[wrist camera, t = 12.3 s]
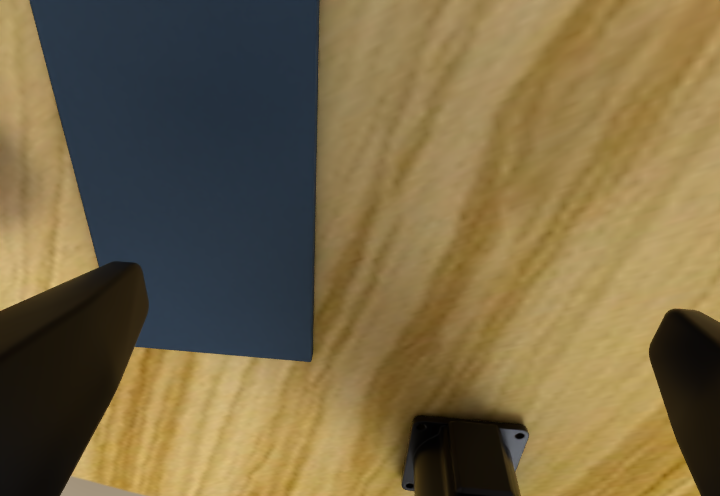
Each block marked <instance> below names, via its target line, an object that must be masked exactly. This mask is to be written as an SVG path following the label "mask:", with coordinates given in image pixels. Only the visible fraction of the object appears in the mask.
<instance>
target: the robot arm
mask: <svg viewBox="0 0 720 496" xmlns="http://www.w3.org/2000/svg"><path fill="white" fill-rule="evenodd" d="M148 309H149V300H148V295H147V290H146V285H145V280H144V276H143V271H142V268H141V267H140V265H139V264H137V263H134V262H123V261H113V262H110V263H108V264H106V265H103V266H101V267H99V268H97V269H94V270H92V271H90V272H88V273H85V274H83V275H81V276H79V277H76V278H74V279H72V280H69V281H67V282H65V283H63V284H60V285H58V286H56V287H54V288H51V289H49V290H47V291H45V292H42V293H40V294H38V295H36V296H33V297H31V298H29V299H27V300H24V301H22V302H20V303H18V304H15V305H13V306H11V307H9V308H6V309H4V310H2V311H0V496H60V495H61V493H62V491H63V489H64V487H65V486H66V484H67V482H68V480H69V478H70V476H71V474H72V473H73V471H74V469H75V467H76V465H77V463H78V461H79V460H80V458H81V456H82V454H83V452H84V450H85V449H86V447H87V445H88V443H89V441H90V439H91V437H92V436H93V434H94V432H95V430H96V428H97V426H98V424H99V423H100V421H101V419H102V417H103V415H104V413H105V412H106V410H107V408H108V406H109V404H110V402H111V400H112V398H113V396H114V394H115V392H116V390H117V388H118V386H119V383H120V381H121V379H122V376H123V374H124V371H125V369H126V366H127V364H128V362H129V359H130V357H131V354H132V352H133V349H134V347H135V344H136V342H137V339H138V337H139V334H140V332H141V329H142V327H143V324H144V322H145V319H146V317H147V314H148ZM649 357H650V361H651V364H652V367H653V371H654V374H655V377H656V380H657V383H658V386H659V389H660V392H661V395H662V398H663V401H664V404H665V407H666V410H667V413H668V416H669V419H670V423H671V426H672V428H673V431H674V434H675V437H676V439H677V442H678V444H679V447H680V449H681V452H682V454H683V456H684V459H685V461H686V463H687V465H688V467H689V470H690V472H691V474H692V476H693V479H694V481H695V483H696V485H697V488H698V490H699V492H700V494H701V496H720V322H718V321H716V320H714V319H712V318H711V317H709V316H707V315H705V314H703V313H702V312H699V311H696V310H686V309H672V310H669V311H668V312H667V313H666V314H665V316H664V318H663V320H662V322H661V324H660V326H659V328H658V330H657V332H656V334H655V336H654V338H653V340H652V342H651V344H650V348H649ZM528 437H529V433H528V430H527V428H526V426H524V425H521V424H512V423H500V422H489V421H478V420H466V419H455V418H443V417H432V416H417V417H415V418H413V420H412V425H411V430H410V436H409V441H408V447H407V452H406V458H405V463H404V468H403V474H402V488H403V489H405V490H409V491H415V496H521V495H520V491H519V486H518V482H517V478H516V474H515V471H516V469H517V466H518V463H519V461H520V458H521V456H522V453H523V450H524V448H525V445H526V443H527V440H528Z"/></svg>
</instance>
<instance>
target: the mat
mask: <svg viewBox="0 0 720 496" xmlns="http://www.w3.org/2000/svg"><path fill="white" fill-rule="evenodd" d="M29 1H30V4H31V8H32V12H33V16H34V20H35V24H36V27H37V31H38V35H39V39H40V43H41V47H42V50H43V54H44V58H45V62H46V66H47V69H48V73H49V77H50V81H51V85H52V89H53V92H54V96H55V100H56V104H57V108H58V112H59V115H60V119H61V123H62V127H63V131H64V135H65V138H66V142H67V146H68V150H69V154H70V157H71V161H72V165H73V169H74V173H75V177H76V180H77V184H78V188H79V192H80V196H81V200H82V203H83V207H84V211H85V215H86V219H87V223H88V226H89V230H90V234H91V238H92V242H93V246H94V249H95V253H96V257H97V261H98V265H99V267H101V266H103V265H106V264H108V263H110V262H113V261H123V262H134V263H137V264H139V265H140V267H141V268H142V271H143V276H144V280H145V285H146V290H147V295H148V300H149V309H148V314H147V317H146V319H145V322H144V324H143V327H142V329H141V332H140V334H139V337H138V339H137V342H136V344H135V347H144V348H156V349H167V350H179V351H190V352H202V353H213V354H225V355H236V356H248V357H259V358H271V359H282V360H294V361H305V362H311V360H312V355H313V311H314V258H315V206H316V153H317V100H318V48H319V0H29Z"/></svg>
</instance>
